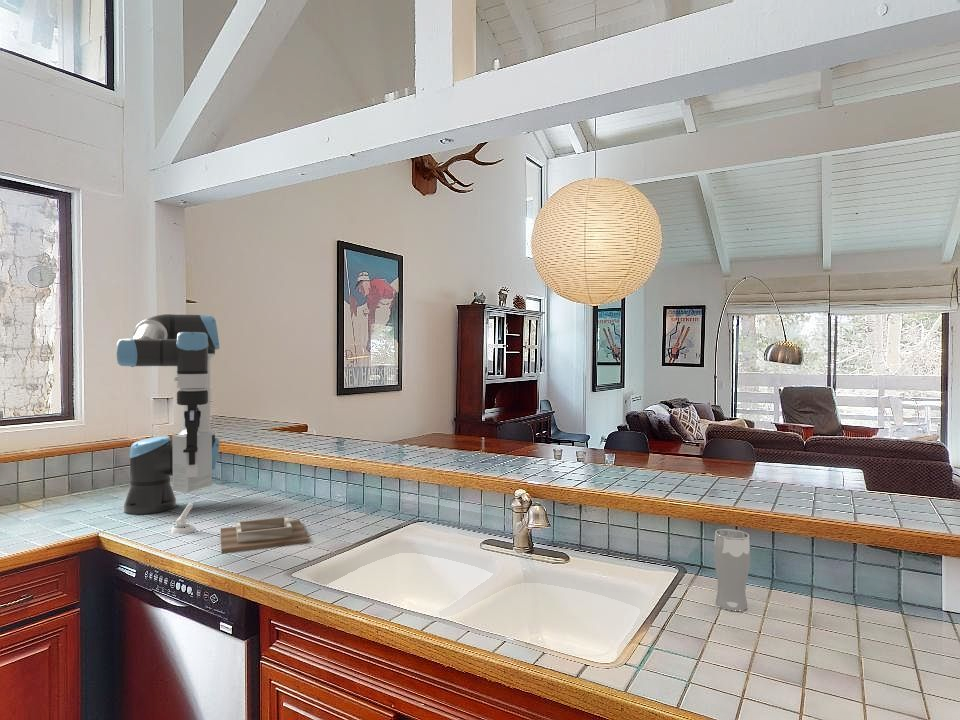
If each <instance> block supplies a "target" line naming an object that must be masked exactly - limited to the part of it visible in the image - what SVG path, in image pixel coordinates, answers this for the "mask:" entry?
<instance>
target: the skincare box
mask: <svg viewBox="0 0 960 720" xmlns="http://www.w3.org/2000/svg"><path fill="white" fill-rule="evenodd" d="M186 437H187V433H185V434H180V435H178V434H174V435H172V438H171V441H172V444H173V475H172V490H173V491H176V492H183V493H190V492H193V491H197V490H200V489H203V488H207V487H210V486H212V485H213V471H212V433H209V432H201V431H197V447H198V477H186V453H183V450H185V449H186Z"/></svg>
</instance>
